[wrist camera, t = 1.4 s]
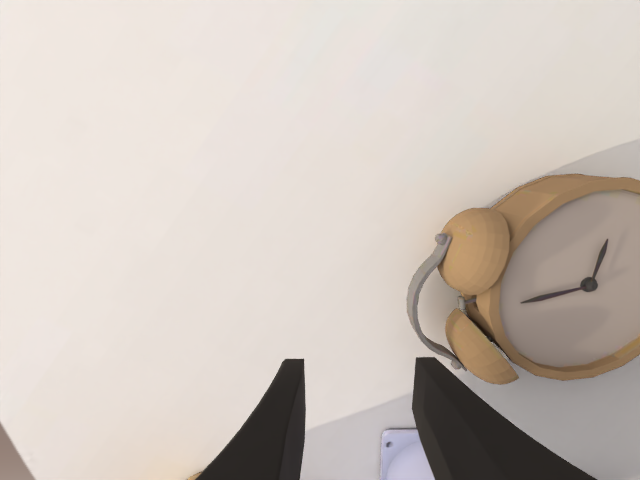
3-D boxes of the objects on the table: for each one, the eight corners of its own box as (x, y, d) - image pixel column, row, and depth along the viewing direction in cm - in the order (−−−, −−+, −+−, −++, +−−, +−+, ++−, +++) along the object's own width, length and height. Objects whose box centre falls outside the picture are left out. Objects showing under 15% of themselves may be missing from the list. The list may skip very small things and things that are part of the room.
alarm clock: (692, 352, 18) (450, 437, 17) (604, 313, 23) (408, 376, 22) (713, 151, 15) (420, 232, 14) (607, 153, 20) (379, 213, 18)
